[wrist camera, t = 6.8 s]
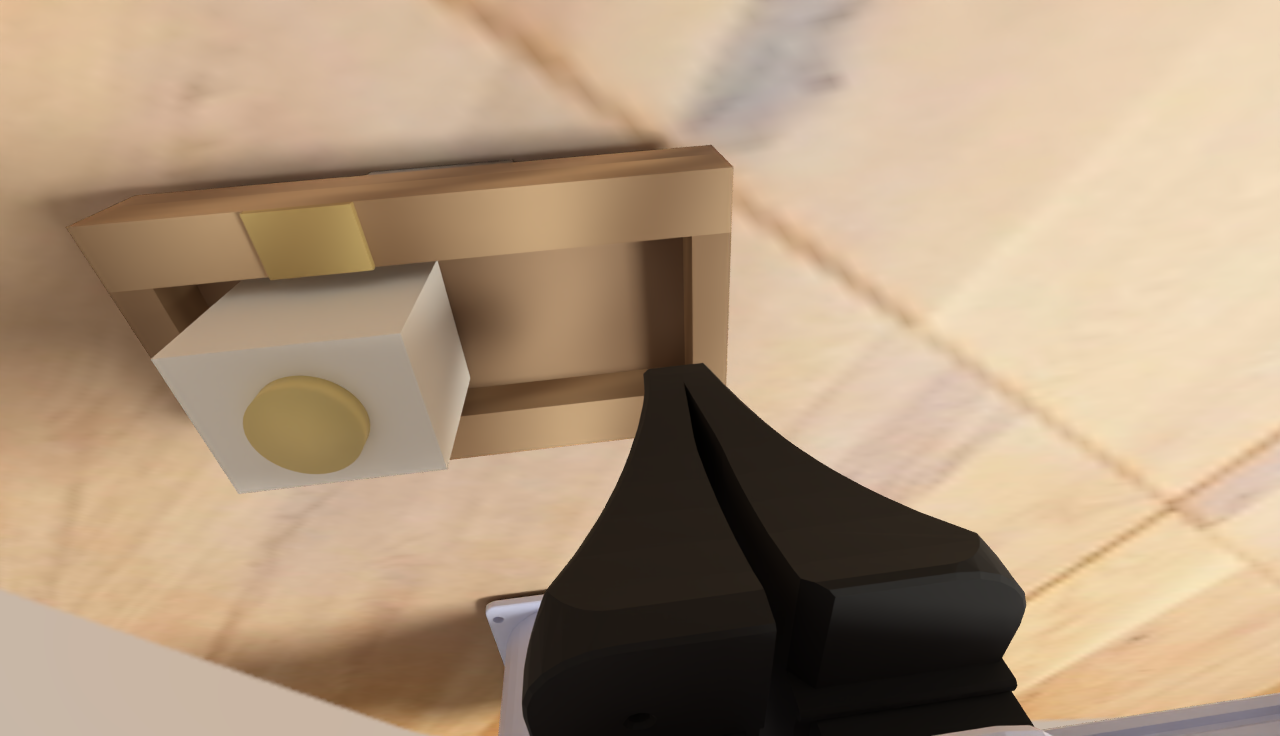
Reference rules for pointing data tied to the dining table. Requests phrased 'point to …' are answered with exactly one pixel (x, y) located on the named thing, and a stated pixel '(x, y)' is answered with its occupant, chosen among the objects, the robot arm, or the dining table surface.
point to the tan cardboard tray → (471, 272)
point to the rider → (323, 377)
